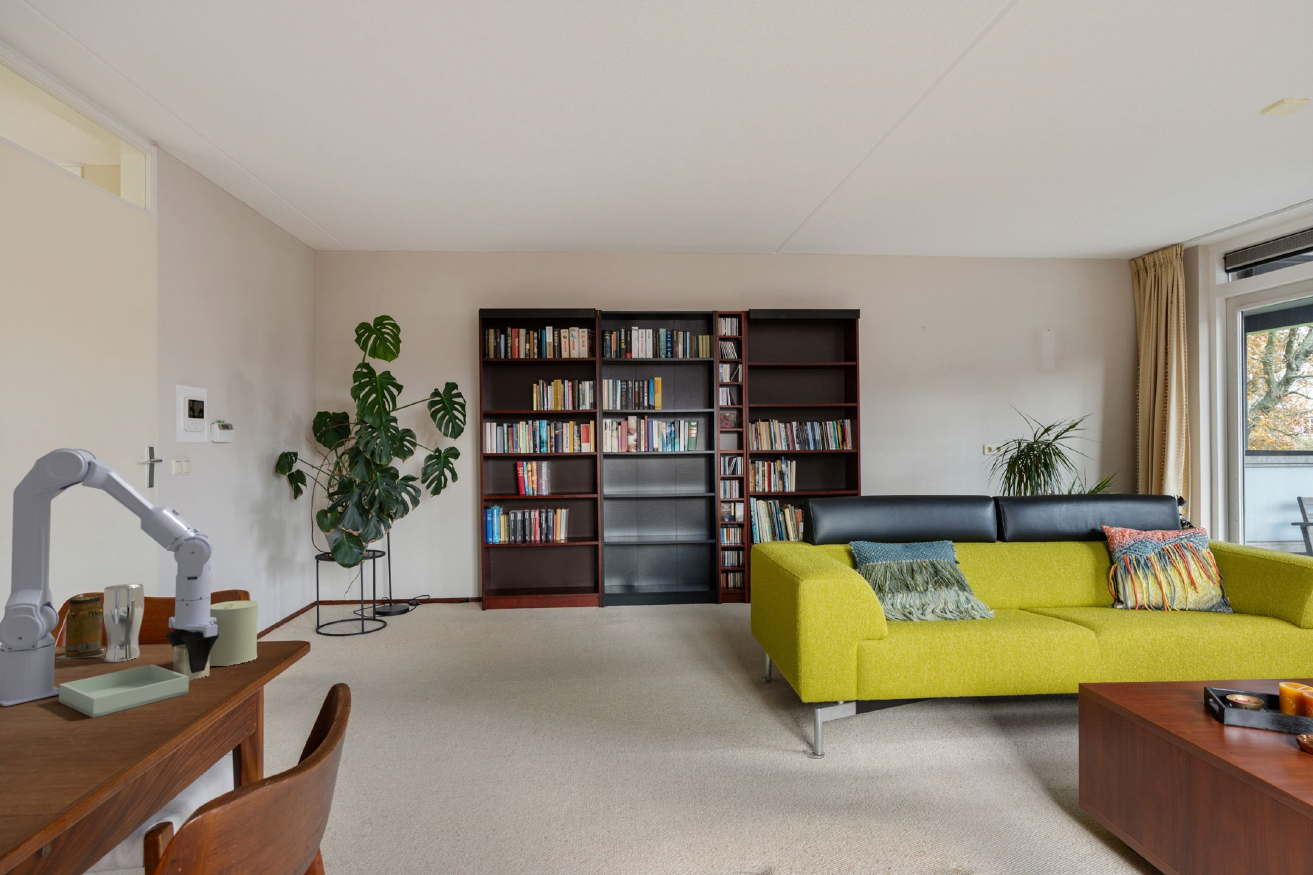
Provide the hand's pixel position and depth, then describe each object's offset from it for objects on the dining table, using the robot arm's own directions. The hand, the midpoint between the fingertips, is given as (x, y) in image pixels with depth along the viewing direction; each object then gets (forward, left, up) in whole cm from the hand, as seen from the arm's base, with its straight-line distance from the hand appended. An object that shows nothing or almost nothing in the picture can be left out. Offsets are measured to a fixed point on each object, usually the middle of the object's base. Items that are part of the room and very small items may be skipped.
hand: (191, 669), depth 134 cm
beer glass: (-26, -2, -2) cm, 26 cm away
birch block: (0, 0, -1) cm, 1 cm away
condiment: (-36, -4, -2) cm, 36 cm away
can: (-5, +10, -2) cm, 11 cm away
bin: (+3, -12, -1) cm, 12 cm away
